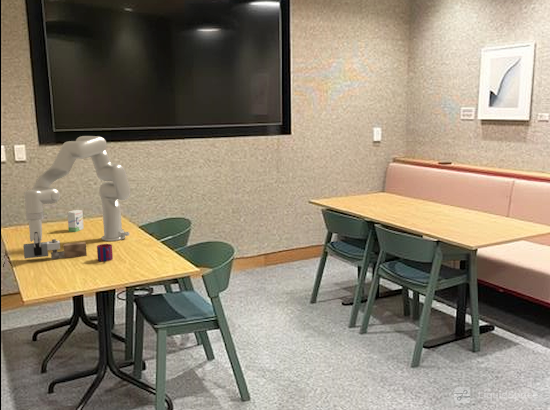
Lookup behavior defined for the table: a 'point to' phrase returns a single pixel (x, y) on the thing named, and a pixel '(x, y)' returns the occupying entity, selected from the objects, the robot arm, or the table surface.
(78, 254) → the walnut hinge leaf
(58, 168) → the robot arm
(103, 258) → the mug
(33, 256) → the charcoal hinge leaf
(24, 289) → the table surface
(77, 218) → the ink box
